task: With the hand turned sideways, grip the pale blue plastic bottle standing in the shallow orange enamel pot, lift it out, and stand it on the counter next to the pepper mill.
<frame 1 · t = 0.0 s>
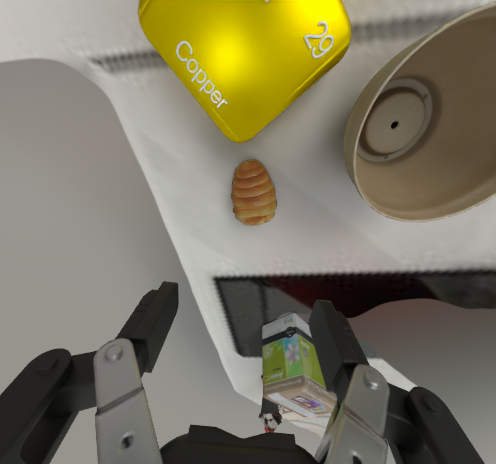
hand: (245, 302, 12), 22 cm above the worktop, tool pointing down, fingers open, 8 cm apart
pastry: (252, 193, 32), on the worktop
tea box: (294, 331, 53), on the worktop
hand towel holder: (299, 405, 81), on the worktop
planter bowl: (388, 122, 26), on the worktop
sundae: (268, 376, 68), on the worktop
element tile: (247, 39, 23), on the worktop
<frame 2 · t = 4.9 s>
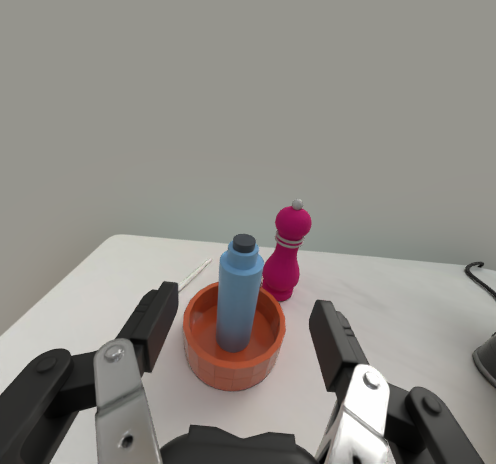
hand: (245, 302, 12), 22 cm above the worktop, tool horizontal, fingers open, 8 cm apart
fork: (182, 288, 41), on the worktop
pepper mill: (276, 290, 44), on the worktop
bottle: (233, 335, 33), point 1 cm above the worktop, touching pot
pot: (232, 337, 33), on the worktop
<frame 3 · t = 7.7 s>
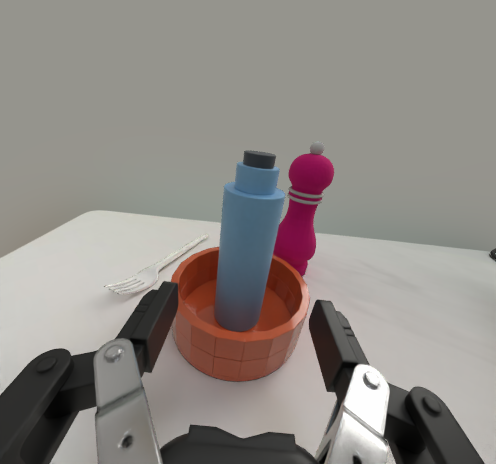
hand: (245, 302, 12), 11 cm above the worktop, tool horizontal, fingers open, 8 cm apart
fork: (172, 262, 33), on the worktop
pepper mill: (286, 267, 36), on the worktop
bottle: (237, 312, 25), point 1 cm above the worktop, touching pot
pot: (236, 315, 25), on the worktop
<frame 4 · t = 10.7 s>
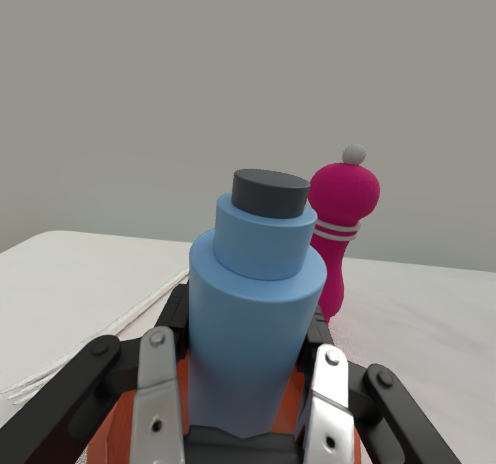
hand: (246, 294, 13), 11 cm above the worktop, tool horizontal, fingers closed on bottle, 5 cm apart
fork: (137, 316, 23), on the worktop
pepper mill: (299, 318, 26), on the worktop
bottle: (227, 429, 15), point 1 cm above the worktop, touching gripper, pot
pot: (226, 433, 15), on the worktop
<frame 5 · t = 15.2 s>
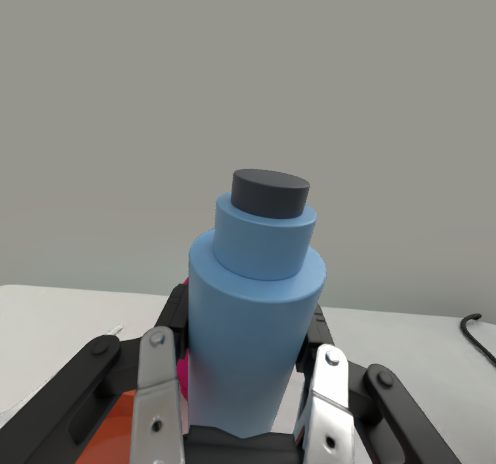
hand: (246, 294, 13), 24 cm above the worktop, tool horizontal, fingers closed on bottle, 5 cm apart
fork: (54, 386, 27), on the worktop
pepper mill: (203, 379, 30), on the worktop
bottle: (227, 430, 15), point 13 cm above the worktop, touching gripper
when the fingers open (10 cm above the worktop, at t = 19.8 s): bottle stays where it is, on the worktop.
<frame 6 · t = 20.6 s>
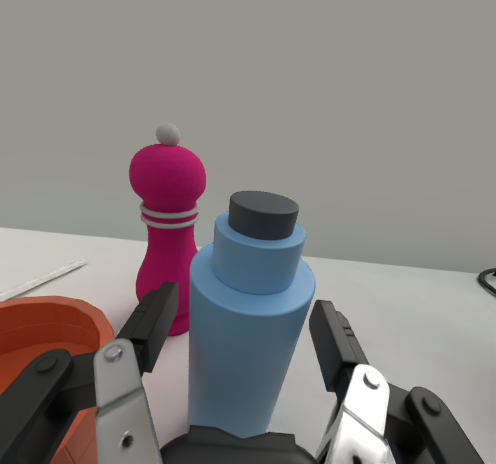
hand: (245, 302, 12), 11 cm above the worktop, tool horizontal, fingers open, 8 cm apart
pepper mill: (174, 314, 25), on the worktop
bottle: (225, 429, 16), on the worktop
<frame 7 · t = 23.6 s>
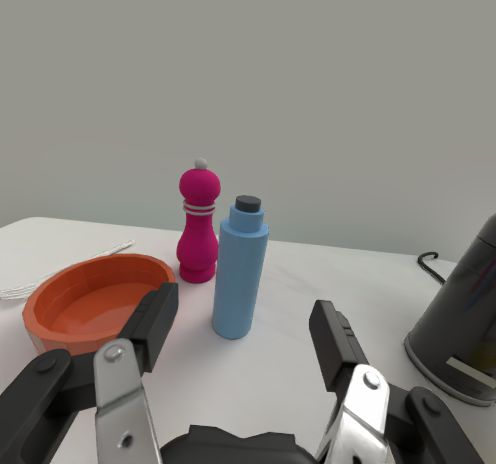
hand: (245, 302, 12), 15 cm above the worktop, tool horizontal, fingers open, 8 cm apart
fork: (83, 268, 35), on the worktop
pepper mill: (197, 273, 38), on the worktop
bottle: (231, 322, 29), on the worktop
pot: (116, 319, 27), on the worktop
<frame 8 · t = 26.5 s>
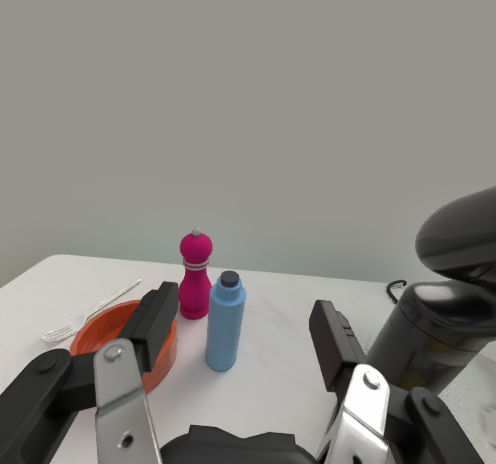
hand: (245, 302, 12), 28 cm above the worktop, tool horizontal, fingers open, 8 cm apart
fork: (102, 308, 44), on the worktop
pepper mill: (195, 308, 47), on the worktop
bottle: (221, 355, 38), on the worktop
pot: (132, 355, 36), on the worktop
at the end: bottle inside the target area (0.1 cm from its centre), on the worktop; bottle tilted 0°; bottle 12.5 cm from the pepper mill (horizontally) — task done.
